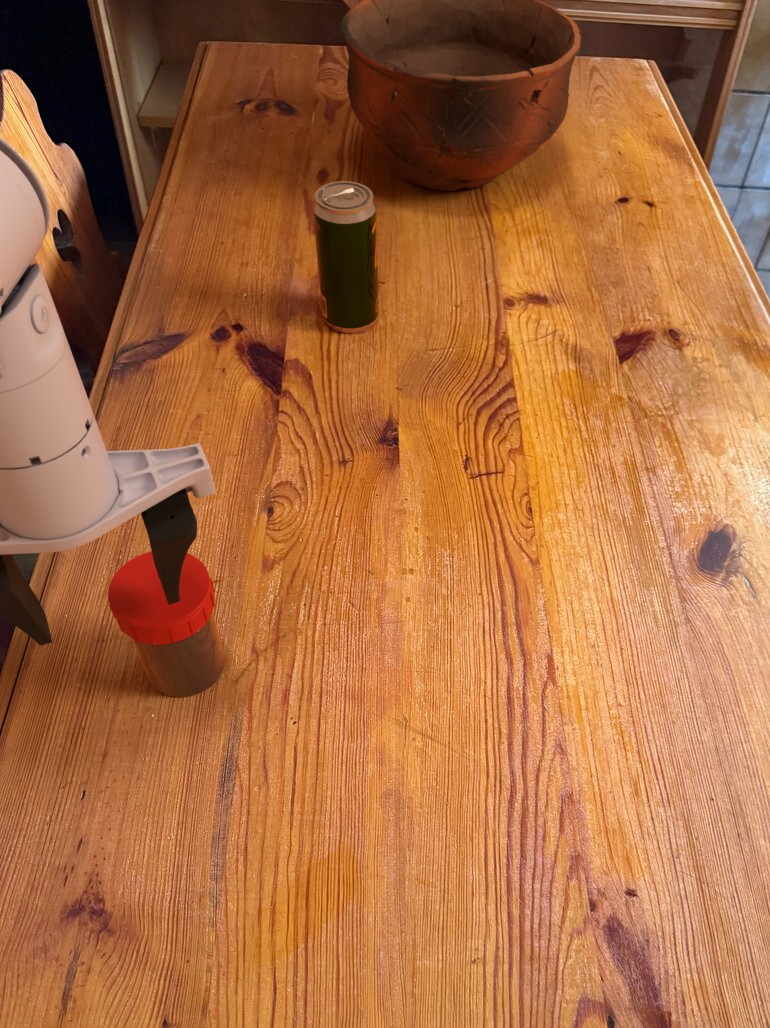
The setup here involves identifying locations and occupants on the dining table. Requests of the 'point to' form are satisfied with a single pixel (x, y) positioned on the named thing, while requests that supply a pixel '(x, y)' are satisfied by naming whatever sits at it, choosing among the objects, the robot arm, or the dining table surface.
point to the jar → (184, 662)
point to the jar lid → (160, 601)
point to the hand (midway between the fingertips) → (107, 610)
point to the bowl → (458, 83)
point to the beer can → (347, 255)
